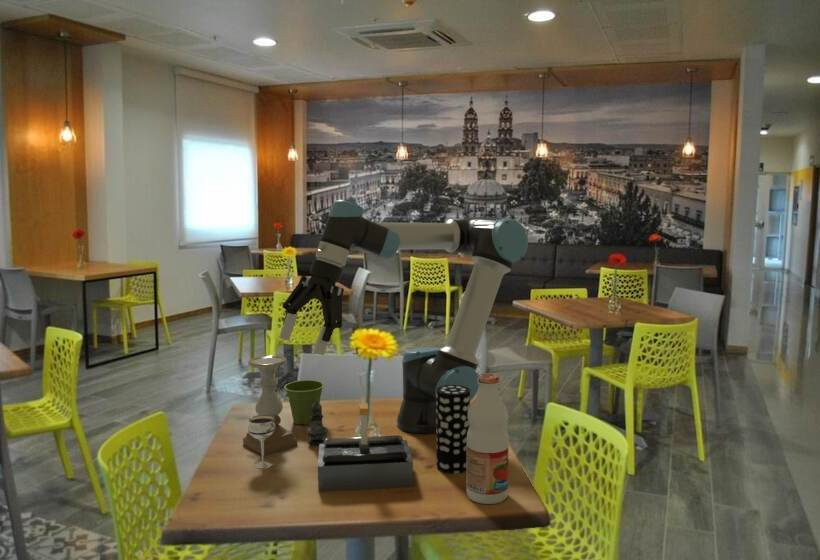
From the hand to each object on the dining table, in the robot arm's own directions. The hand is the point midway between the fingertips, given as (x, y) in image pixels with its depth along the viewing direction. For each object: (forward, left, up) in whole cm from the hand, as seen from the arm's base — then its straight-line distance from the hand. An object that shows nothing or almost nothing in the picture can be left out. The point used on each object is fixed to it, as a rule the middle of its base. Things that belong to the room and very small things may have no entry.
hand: (300, 346), depth 160 cm
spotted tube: (-28, +24, -32) cm, 49 cm away
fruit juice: (-21, +40, -32) cm, 56 cm away
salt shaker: (-15, -14, -32) cm, 38 cm away
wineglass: (+4, -12, -32) cm, 34 cm away
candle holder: (-5, -22, -32) cm, 39 cm away
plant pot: (-23, -30, -32) cm, 49 cm away
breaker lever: (-9, +12, -26) cm, 30 cm away
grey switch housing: (-9, +12, -32) cm, 35 cm away
